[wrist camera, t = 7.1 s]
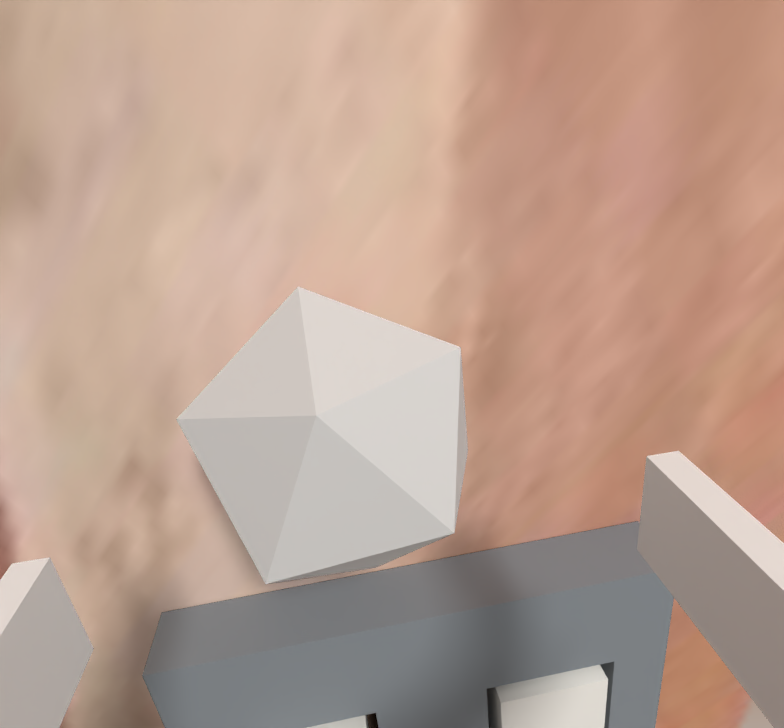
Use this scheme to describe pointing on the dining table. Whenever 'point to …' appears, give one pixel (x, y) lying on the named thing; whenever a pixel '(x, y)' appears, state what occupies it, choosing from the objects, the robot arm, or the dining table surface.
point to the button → (346, 723)
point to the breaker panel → (421, 640)
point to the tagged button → (551, 701)
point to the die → (333, 439)
